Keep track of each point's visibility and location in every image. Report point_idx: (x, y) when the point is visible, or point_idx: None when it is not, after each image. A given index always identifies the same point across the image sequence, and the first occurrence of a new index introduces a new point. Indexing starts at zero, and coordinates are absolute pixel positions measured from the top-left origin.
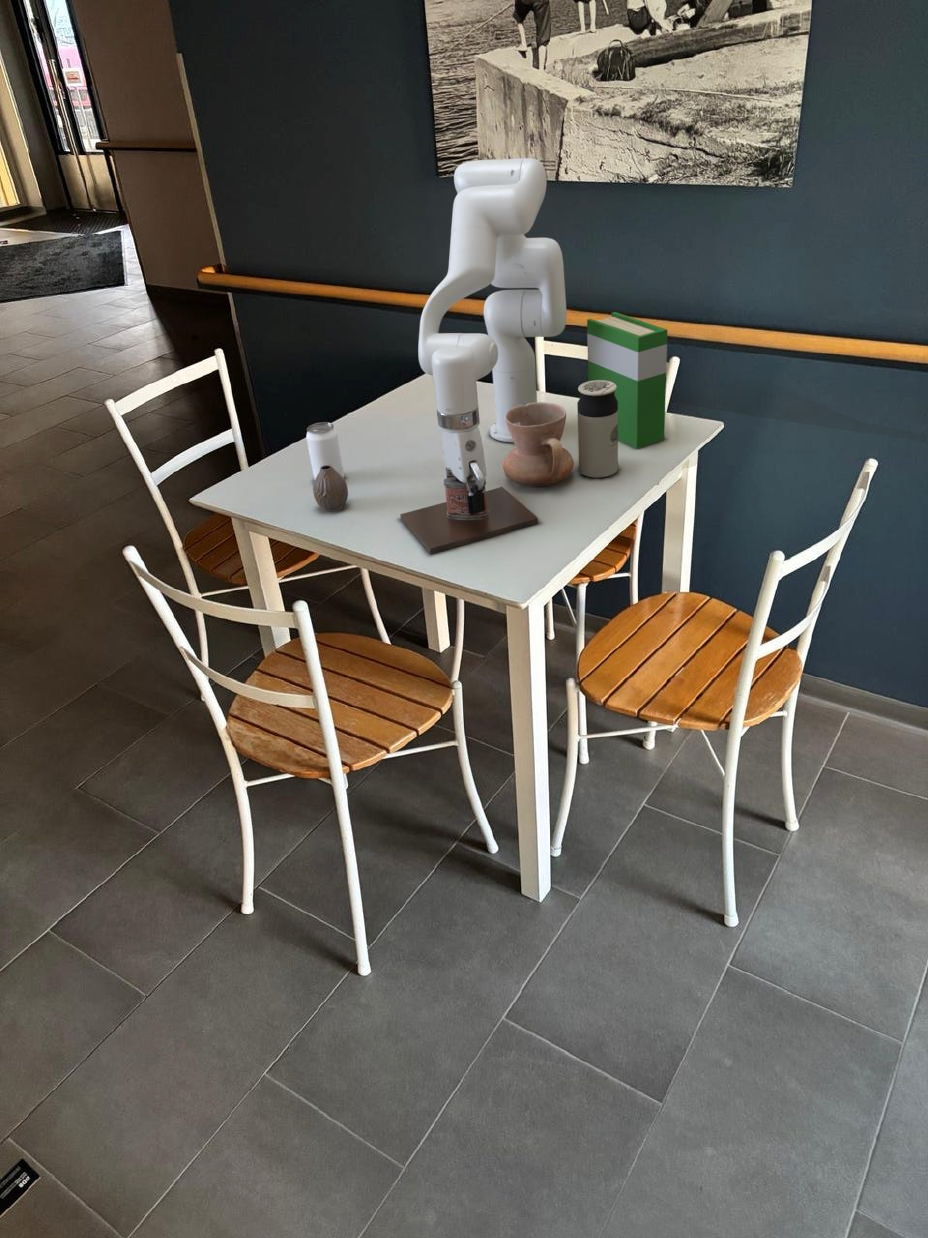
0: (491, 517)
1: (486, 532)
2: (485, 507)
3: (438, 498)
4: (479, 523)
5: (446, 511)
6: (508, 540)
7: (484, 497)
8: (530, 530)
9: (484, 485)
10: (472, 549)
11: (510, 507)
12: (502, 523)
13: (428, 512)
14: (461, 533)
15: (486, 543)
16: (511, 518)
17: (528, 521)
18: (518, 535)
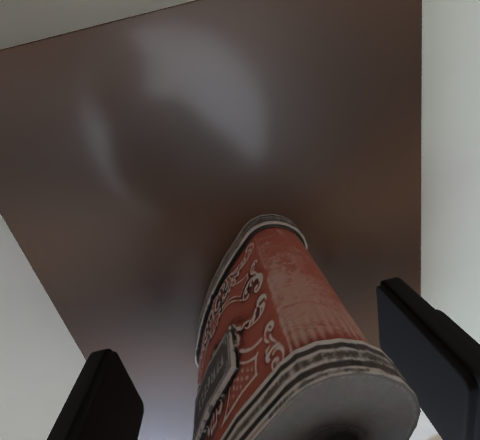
0: (299, 204)
1: (419, 246)
2: (307, 251)
3: (6, 360)
4: (331, 261)
5: (177, 362)
6: (465, 157)
7: (332, 288)
8: (440, 31)
9: (385, 355)
10: (448, 290)
11: (228, 85)
12: (382, 167)
13: (167, 413)
14: (377, 330)
15: (437, 242)
16: (353, 110)
17: (417, 20)
18: (451, 104)
